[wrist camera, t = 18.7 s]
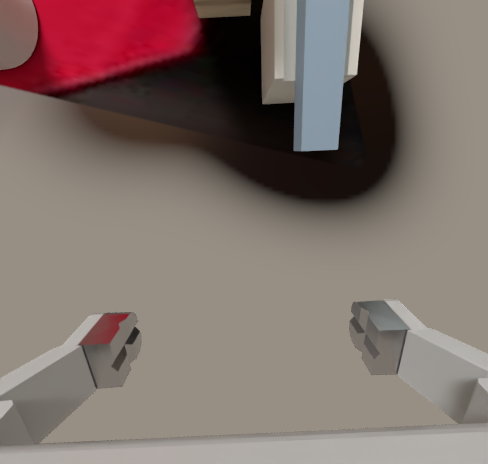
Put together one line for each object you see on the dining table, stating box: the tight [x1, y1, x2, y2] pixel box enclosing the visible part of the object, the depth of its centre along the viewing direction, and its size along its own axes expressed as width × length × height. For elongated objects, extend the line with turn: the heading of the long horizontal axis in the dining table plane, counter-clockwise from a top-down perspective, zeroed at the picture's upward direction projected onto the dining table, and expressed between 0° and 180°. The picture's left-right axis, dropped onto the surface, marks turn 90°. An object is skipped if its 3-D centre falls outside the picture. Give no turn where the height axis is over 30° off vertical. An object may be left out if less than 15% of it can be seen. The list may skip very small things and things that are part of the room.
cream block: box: [261, 0, 364, 104], centre depth 32 cm, size 12×9×16 cm
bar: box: [294, 0, 350, 151], centre depth 24 cm, size 22×4×4 cm, turn 3°
